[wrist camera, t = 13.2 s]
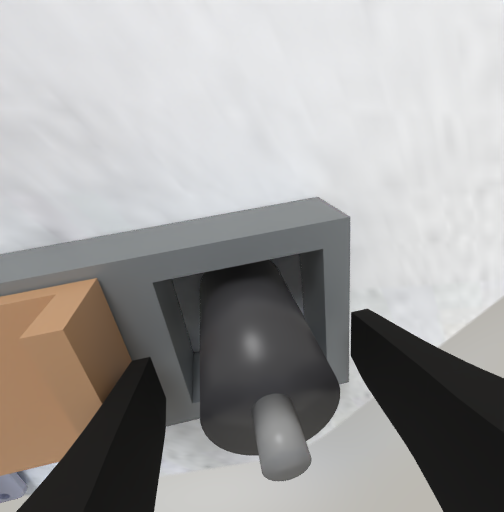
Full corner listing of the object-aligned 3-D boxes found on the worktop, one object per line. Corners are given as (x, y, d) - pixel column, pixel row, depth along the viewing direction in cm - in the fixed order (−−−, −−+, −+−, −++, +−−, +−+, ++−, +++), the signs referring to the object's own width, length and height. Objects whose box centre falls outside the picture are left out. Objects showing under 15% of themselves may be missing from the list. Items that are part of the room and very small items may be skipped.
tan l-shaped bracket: (-11, 464, 12) (-64, 549, 9) (-137, 323, 9) (-261, 397, 6) (158, 423, 12) (149, 493, 10) (97, 277, 9) (63, 329, 7)
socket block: (40, 403, 15) (5, 465, 12) (-52, 263, 11) (-130, 308, 9) (323, 338, 16) (348, 382, 13) (318, 197, 13) (350, 217, 10)
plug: (211, 332, 15) (223, 531, 8) (189, 263, 13) (177, 436, 6) (287, 313, 15) (368, 486, 8) (275, 243, 13) (366, 383, 6)
